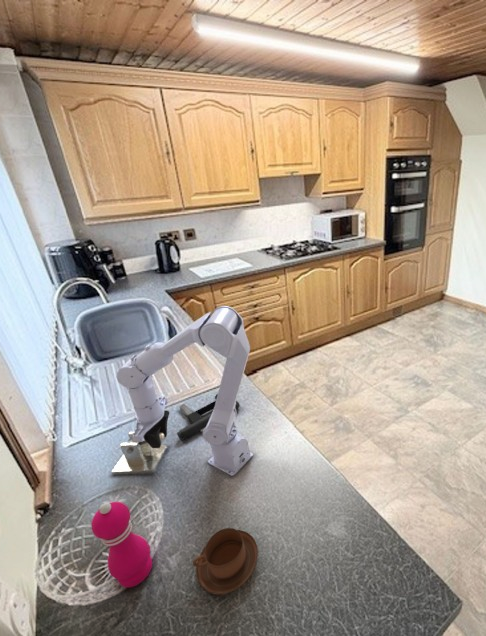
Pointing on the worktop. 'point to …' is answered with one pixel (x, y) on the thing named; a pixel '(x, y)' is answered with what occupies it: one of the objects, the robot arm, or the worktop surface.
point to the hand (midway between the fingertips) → (159, 441)
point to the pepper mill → (122, 544)
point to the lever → (146, 442)
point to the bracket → (139, 458)
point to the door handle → (197, 419)
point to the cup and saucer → (226, 561)
